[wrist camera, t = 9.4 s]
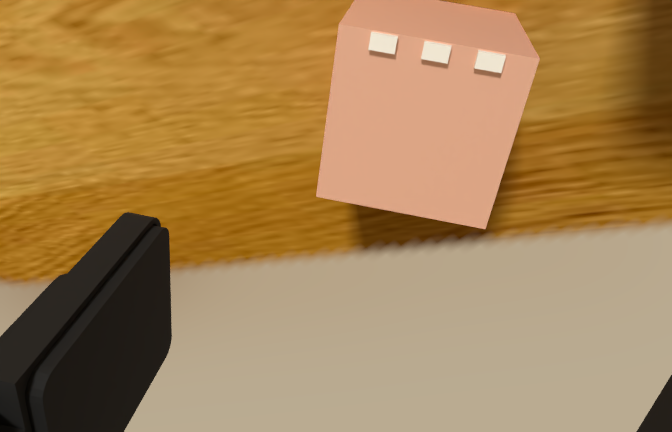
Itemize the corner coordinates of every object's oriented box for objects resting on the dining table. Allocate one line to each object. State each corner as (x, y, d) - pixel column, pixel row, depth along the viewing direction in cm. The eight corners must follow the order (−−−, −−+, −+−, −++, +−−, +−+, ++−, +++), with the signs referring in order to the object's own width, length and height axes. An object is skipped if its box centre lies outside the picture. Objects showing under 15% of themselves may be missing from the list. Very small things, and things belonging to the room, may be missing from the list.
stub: (514, 13, 23) (540, 60, 17) (475, 152, 26) (485, 232, 20) (362, -13, 23) (338, 25, 17) (342, 127, 26) (315, 199, 20)
